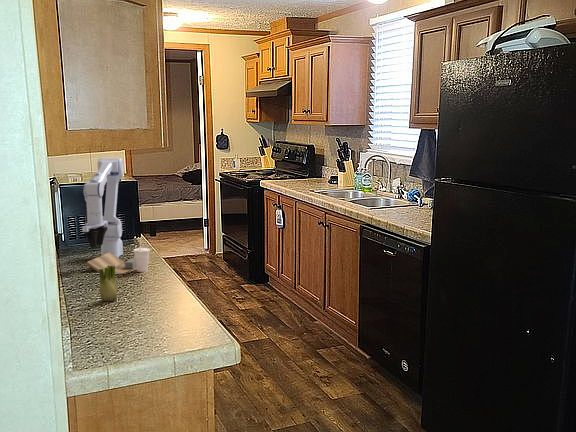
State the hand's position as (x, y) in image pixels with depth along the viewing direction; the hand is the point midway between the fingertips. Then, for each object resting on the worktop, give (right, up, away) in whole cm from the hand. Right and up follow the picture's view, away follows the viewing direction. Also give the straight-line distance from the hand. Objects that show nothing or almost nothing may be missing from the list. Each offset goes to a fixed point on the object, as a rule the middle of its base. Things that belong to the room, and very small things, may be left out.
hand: (96, 246), depth 216 cm
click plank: (+3, -8, +3) cm, 8 cm away
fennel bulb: (+17, -17, -34) cm, 42 cm away
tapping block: (+13, -8, +4) cm, 16 cm away
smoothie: (+19, -11, -2) cm, 22 cm away
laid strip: (+11, -10, +1) cm, 15 cm away
